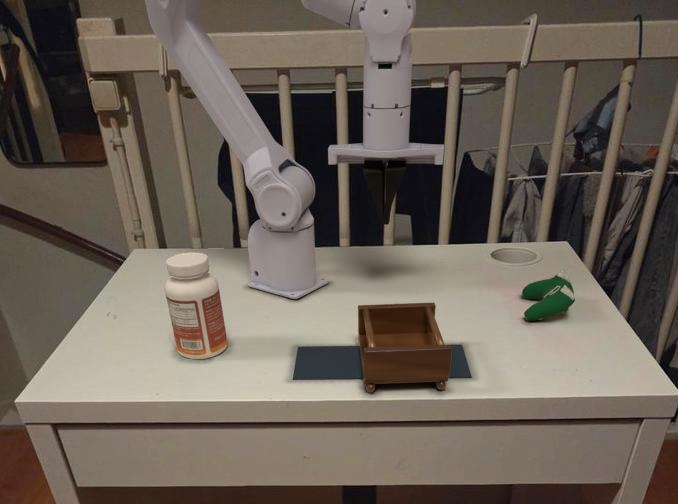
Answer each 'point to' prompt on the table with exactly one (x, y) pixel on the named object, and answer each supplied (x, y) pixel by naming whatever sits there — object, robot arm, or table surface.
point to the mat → (354, 363)
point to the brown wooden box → (402, 345)
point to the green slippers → (549, 297)
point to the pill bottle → (195, 306)
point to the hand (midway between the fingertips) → (384, 222)
